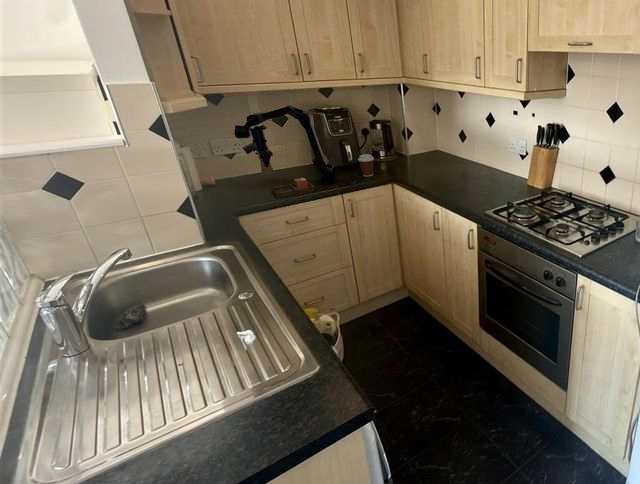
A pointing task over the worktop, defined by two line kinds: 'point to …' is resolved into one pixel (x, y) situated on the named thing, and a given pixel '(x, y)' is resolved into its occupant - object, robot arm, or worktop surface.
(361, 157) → the coffee cup
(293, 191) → the sorting tray
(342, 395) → the worktop surface
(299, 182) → the terracotta block
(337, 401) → the worktop surface
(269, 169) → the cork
